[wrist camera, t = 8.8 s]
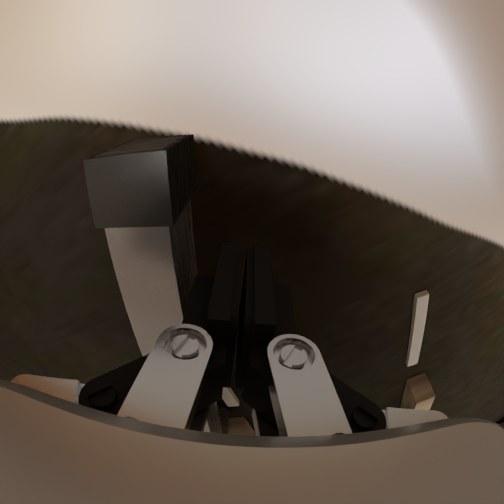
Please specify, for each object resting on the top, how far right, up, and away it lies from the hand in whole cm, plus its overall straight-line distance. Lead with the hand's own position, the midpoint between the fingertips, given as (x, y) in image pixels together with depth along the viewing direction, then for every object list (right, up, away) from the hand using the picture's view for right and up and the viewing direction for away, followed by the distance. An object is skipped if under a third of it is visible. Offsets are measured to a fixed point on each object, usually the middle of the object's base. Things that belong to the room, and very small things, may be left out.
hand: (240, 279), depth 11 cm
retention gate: (-3, -4, +8) cm, 9 cm away
